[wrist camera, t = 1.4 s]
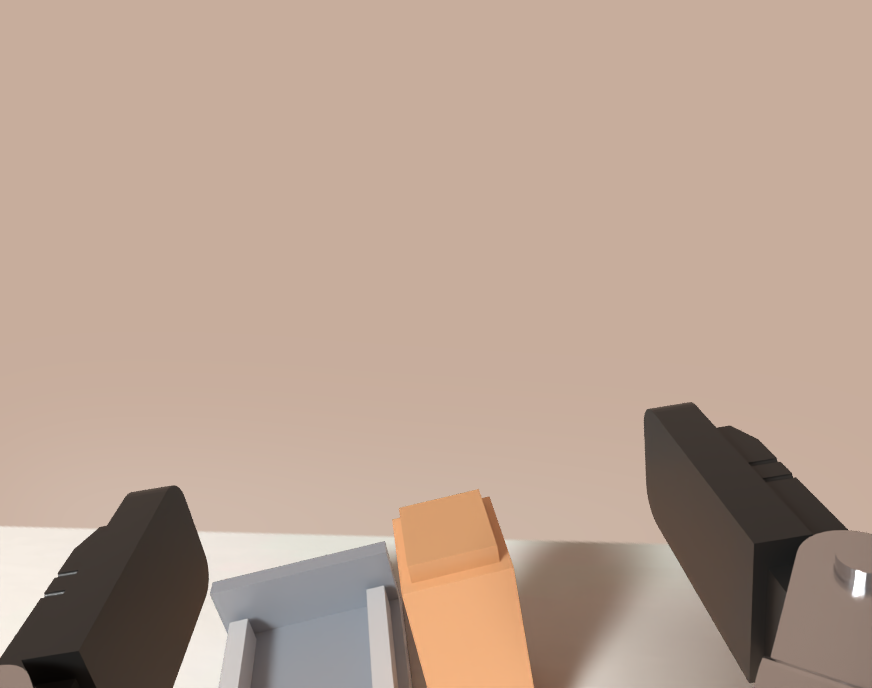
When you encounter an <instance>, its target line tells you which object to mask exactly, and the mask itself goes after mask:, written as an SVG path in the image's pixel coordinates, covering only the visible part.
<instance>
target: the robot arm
mask: <svg viewBox="0 0 872 688" xmlns="http://www.w3.org/2000/svg"><path fill="white" fill-rule="evenodd" d="M644 437H645V460H646V485H647V494H648V500H649V504H650V508H651V511H652V514H653V517H654V519H655V521H656V523H657V525H658V527H659V529H660V530H661V532H662V534H663V536H664V537H665V539H666V541H667V542H668V544H669V546H670V548H671V549H672V551H673V553H674V554H675V556H676V558H677V560H678V561H679V563H680V565H681V567H682V568H683V570H684V572H685V573H686V575H687V577H688V579H689V580H690V582H691V584H692V585H693V587H694V589H695V591H696V592H697V594H698V596H699V597H700V599H701V601H702V603H703V604H704V606H705V608H706V610H707V611H708V613H709V615H710V616H711V618H712V620H713V622H714V623H715V625H716V627H717V628H718V630H719V632H720V634H721V635H722V637H723V639H724V640H725V642H726V644H727V646H728V647H729V649H730V651H731V653H732V654H733V656H734V658H735V659H736V661H737V663H738V665H739V666H740V668H741V670H742V671H743V673H744V675H745V677H746V678H747V680H748V682H749V683H753V682H755V684H754V688H872V534H869V533H864V532H858V531H849V530H848V529H847V528H845V526H844V525H843V524H842V523H841V522H840V521H839V520H838V519H837V518H836V517H835V516H834V515H833V514H832V513H831V512H830V511H829V510H828V509H827V508H826V507H825V506H824V505H823V504H822V503H821V502H820V501H819V500H818V499H817V498H816V497H815V496H814V495H813V494H812V493H811V492H810V491H809V490H808V489H807V488H806V487H805V486H804V485H803V484H802V483H801V482H800V481H799V480H798V479H797V478H793V476H792V473H791V472H790V471H789V470H788V469H787V468H786V467H785V466H784V465H783V464H782V463H781V462H777V458H776V457H775V456H774V455H773V454H772V453H771V452H770V451H769V450H768V449H767V448H766V447H765V446H764V445H763V444H762V443H761V442H760V441H759V440H758V439H756V438H754V437H752V436H750V435H748V434H746V433H744V432H742V431H740V430H738V429H736V428H734V427H732V426H725V427H719V428H716V427H715V426H714V425H713V424H712V423H711V421H710V420H709V419H708V418H707V417H706V416H705V415H704V414H703V413H702V412H701V410H700V409H699V408H698V407H697V406H696V405H695V404H693V403H692V402H690V403H682V404H677V405H670V406H664V407H658V408H652V409H647V410H646V412H645V416H644ZM208 581H209V573H208V564H207V559H206V556H205V553H204V550H203V547H202V544H201V542H200V539H199V536H198V533H197V530H196V528H195V525H194V522H193V519H192V517H191V513H190V511H189V508H188V505H187V502H186V499H185V497H184V494H183V493H182V491H181V490H180V488H179V487H177V486H167V487H161V488H155V489H148V490H142V491H136V492H131V493H129V494H128V495H127V496H126V497H125V498H124V500H123V502H122V503H121V505H120V506H119V508H118V509H117V511H116V512H115V514H114V516H113V517H112V519H111V521H110V522H109V523H108V525H107V526H103V527H99V528H98V529H97V530H96V531H95V532H94V533H93V534H91V535H90V536H89V537H88V538H87V539H86V540H84V541H83V542H82V543H81V544H80V545H79V546H77V547H76V548H75V549H74V550H73V552H72V553H71V555H70V556H69V557H68V559H67V560H66V562H65V563H64V565H63V566H62V568H61V569H60V571H59V572H58V578H54V580H53V581H52V583H51V584H50V585H49V587H48V588H47V590H46V591H45V593H44V594H45V597H44V598H41V599H40V600H39V602H38V603H37V605H36V606H35V608H34V609H33V611H32V612H31V614H30V615H29V616H28V618H27V619H26V621H25V622H24V624H23V625H22V627H21V628H20V630H19V631H18V633H17V634H16V636H15V637H14V639H13V640H12V642H11V643H10V644H9V646H8V647H7V649H6V650H5V652H4V653H3V655H2V656H1V658H0V688H173V686H174V683H175V680H176V677H177V675H178V672H179V669H180V666H181V664H182V661H183V658H184V655H185V653H186V650H187V647H188V644H189V642H190V639H191V636H192V633H193V631H194V628H195V625H196V622H197V620H198V617H199V614H200V611H201V609H202V606H203V603H204V600H205V598H206V594H207V590H208Z"/></svg>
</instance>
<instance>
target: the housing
mask: <svg viewBox="0 0 872 688" xmlns="http://www.w3.org/2000/svg"><path fill="white" fill-rule="evenodd" d="M210 596H211V598H212V600H213V602H214V604H215V607H216V609H217V611H218V613H219V616H220V618H221V620H222V622H223V625H224V627H225V629H226V631H227V634H228V636H227V642H226V648H225V653H224V659H223V665H222V671H221V676H220V682H219V688H413V687H412V679H411V671H410V663H409V655H408V647H407V639H406V631H405V623H404V615H403V607H402V601H401V598H400V594H399V590H398V587H397V583H396V580H395V576H394V572H393V569H392V565H391V562H390V558H389V554H388V551H387V547H386V543H385V541H384V542H379V543H375V544H371V545H367V546H363V547H359V548H354V549H350V550H346V551H342V552H338V553H334V554H329V555H325V556H321V557H317V558H313V559H308V560H304V561H300V562H296V563H292V564H288V565H283V566H279V567H275V568H271V569H267V570H262V571H258V572H254V573H250V574H246V575H242V576H237V577H233V578H229V579H225V580H221V581H217V582H213V583H212V588H211V592H210Z"/></svg>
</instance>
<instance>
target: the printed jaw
mask: <svg viewBox="0 0 872 688" xmlns="http://www.w3.org/2000/svg"><path fill="white" fill-rule="evenodd" d="M399 512H400V518H397V519H393V520H392V521H393V529H394V537H395V545H396V553H397V561H398V569H399V577H400V585H401V593H402V597H403V601H404V605H405V608H406V612H407V616H408V619H409V623H410V627H411V630H412V634H413V638H414V641H415V645H416V648H417V652H418V656H419V659H420V663H421V667H422V670H423V674H424V678H425V681H426V685H427V688H534V685H533V679H532V673H531V667H530V661H529V655H528V649H527V643H526V637H525V632H524V626H523V620H522V614H521V608H520V602H519V596H518V590H517V584H516V578H515V572H514V567H513V564H512V561H511V558H510V555H509V552H508V549H507V547H506V544H505V541H504V538H503V535H502V532H501V529H500V526H499V523H498V520H497V518H496V515H495V512H494V509H493V506H492V503H491V500H490V497H485V498H481V495H480V492H479V489H477V490H473V491H469V492H465V493H460V494H456V495H452V496H448V497H444V498H440V499H435V500H431V501H427V502H423V503H418V504H414V505H410V506H406V507H402V508H399Z"/></svg>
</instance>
